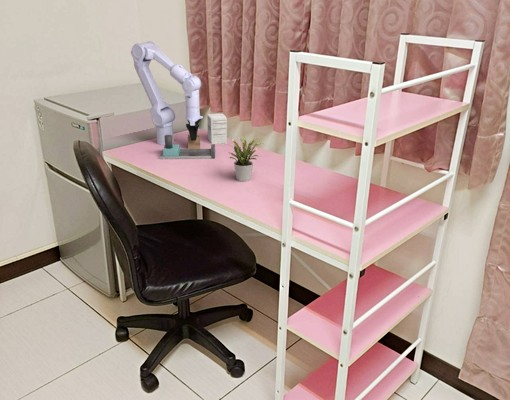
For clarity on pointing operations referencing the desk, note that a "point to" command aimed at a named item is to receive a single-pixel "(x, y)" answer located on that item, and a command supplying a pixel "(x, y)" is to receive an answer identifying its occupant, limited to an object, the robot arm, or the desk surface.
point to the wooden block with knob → (194, 143)
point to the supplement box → (217, 128)
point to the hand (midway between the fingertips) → (194, 137)
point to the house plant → (244, 159)
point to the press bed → (193, 154)
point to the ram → (170, 147)
